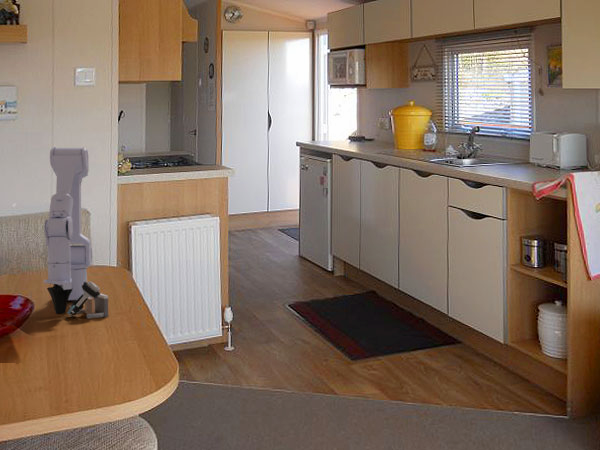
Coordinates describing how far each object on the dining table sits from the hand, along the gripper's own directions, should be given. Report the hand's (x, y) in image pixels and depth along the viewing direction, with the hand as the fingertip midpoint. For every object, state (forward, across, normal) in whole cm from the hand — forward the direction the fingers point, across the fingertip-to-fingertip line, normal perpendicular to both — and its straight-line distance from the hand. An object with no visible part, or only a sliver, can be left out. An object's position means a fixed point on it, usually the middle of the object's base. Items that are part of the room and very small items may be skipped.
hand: (60, 313), depth 189 cm
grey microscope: (+1, 0, +2) cm, 2 cm away
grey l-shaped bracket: (+1, 0, +9) cm, 9 cm away
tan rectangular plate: (+1, 0, +8) cm, 8 cm away
